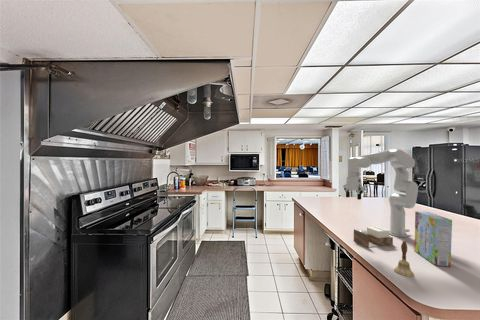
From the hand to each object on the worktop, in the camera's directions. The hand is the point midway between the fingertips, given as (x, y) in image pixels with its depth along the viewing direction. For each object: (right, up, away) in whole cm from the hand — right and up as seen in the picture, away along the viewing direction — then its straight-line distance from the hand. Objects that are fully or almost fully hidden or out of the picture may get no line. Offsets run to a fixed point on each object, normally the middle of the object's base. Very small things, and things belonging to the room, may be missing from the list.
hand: (353, 198), depth 169 cm
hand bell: (+2, -30, -50) cm, 58 cm away
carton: (+14, -25, -6) cm, 29 cm away
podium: (+10, -30, -7) cm, 32 cm away
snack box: (+30, -30, -32) cm, 53 cm away
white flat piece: (+12, -30, +12) cm, 34 cm away
